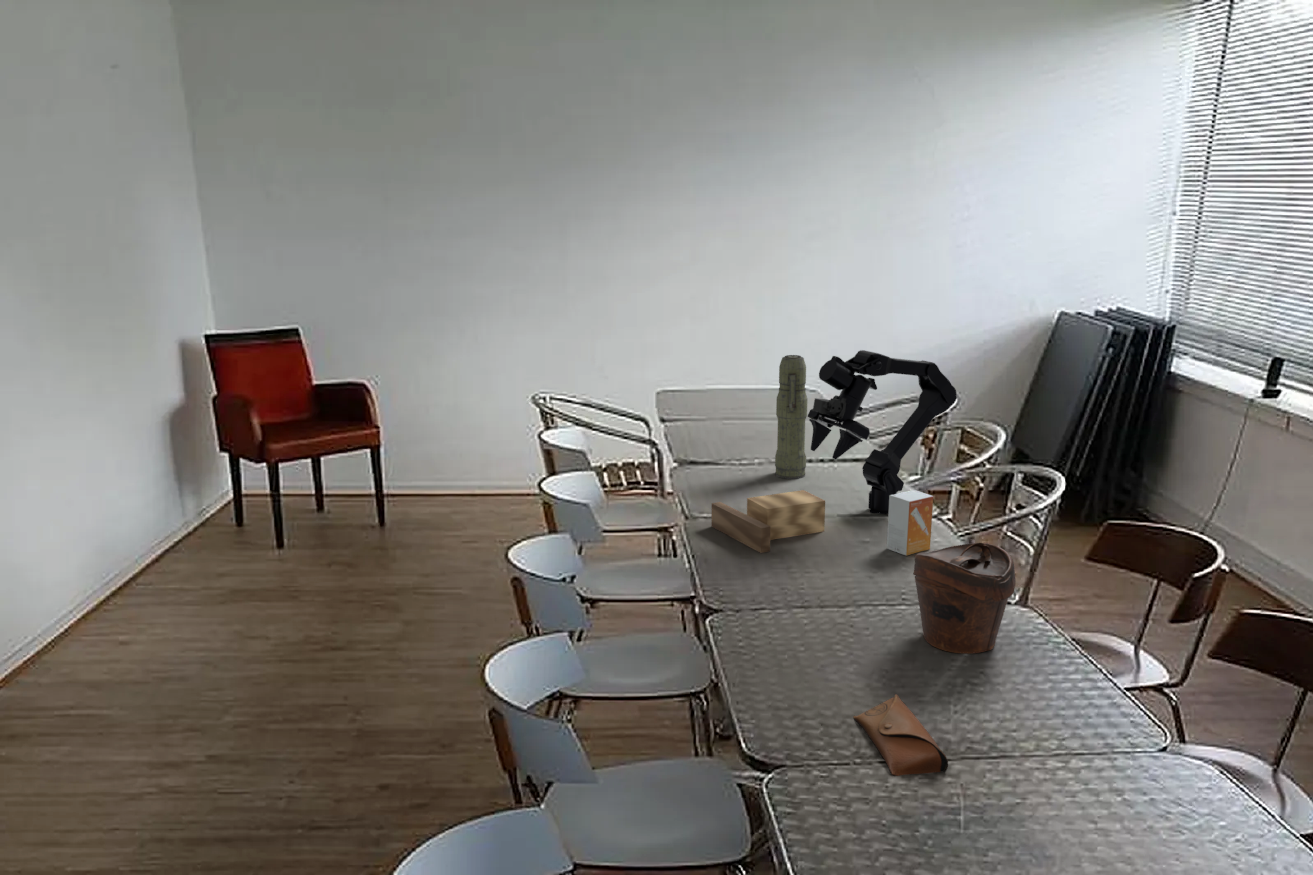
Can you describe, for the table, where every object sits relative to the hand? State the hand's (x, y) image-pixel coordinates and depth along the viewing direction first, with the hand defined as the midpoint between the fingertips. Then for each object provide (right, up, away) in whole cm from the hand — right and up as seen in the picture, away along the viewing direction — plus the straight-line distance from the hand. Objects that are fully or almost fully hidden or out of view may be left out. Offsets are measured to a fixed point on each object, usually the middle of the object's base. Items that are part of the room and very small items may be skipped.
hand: (822, 454), depth 250 cm
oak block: (-10, -19, -2) cm, 21 cm away
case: (+15, -33, -63) cm, 73 cm away
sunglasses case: (-5, -42, -98) cm, 107 cm away
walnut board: (-21, -20, -8) cm, 30 cm away
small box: (+17, -22, -16) cm, 32 cm away
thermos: (-2, -7, +47) cm, 47 cm away
